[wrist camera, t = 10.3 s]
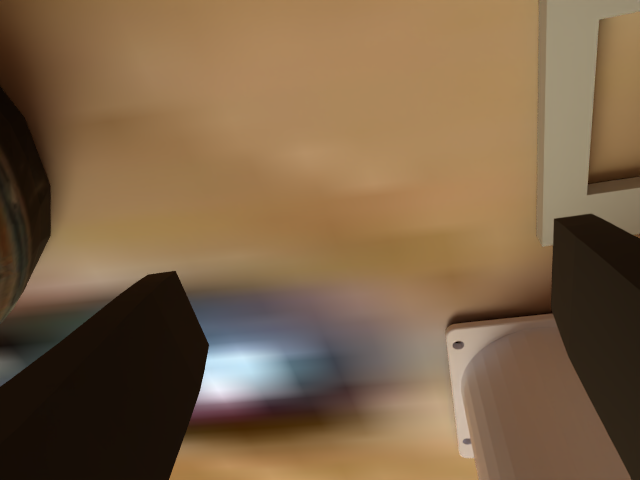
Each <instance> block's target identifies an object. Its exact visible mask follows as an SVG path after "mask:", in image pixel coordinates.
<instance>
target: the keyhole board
mask: <svg viewBox="0 0 640 480" xmlns="http://www.w3.org/2000/svg"><path fill="white" fill-rule="evenodd" d="M635 12H640V0H539V53H538V139H537V226H536V236H537V238H538V240H539V241H540V243H541V245H542V247H543V246H551V245H553V231H554V219H555V218H562V217H569V216H577V215H584V214H594V215H596V216H598V217H600V218H602V219H604V220H606V221H608V222H610V223H612V224H614V225H615V226H617V227H619V228H621V229H623V230H625V231H627V232H628V233H630V234H632V235H636V234H640V177H633V178H627V179H620V180H613V181H606V182H600V183H593V184H588V172H589V157H590V143H591V129H592V115H593V100H594V86H595V72H596V58H597V43H598V29H599V20H600V19H605V18H610V17H615V16H620V15H625V14H630V13H635Z"/></svg>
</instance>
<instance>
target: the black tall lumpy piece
mask: <svg viewBox="0 0 640 480" xmlns="http://www.w3.org/2000/svg"><path fill="white" fill-rule="evenodd" d="M49 238H50V184H49V181H48V179H47V176H46V173H45V171H44V168H43V165H42V163H41V160H40V157H39V155H38V152H37V149H36V147H35V144H34V142H33V139H32V136H31V134H30V131H29V128H28V126H27V123H26V120H25V118H24V116H23V115H22V114H21V113H20V111H19V110H18V109H17V107H16V106H15V105H14V104H13V102H12V101H11V100H10V98H9V97H8V96H7V95H6V93H5V92H4V91H3V89H2V88H1V87H0V324H1V323H2V322H3V321H4V319H5V318H6V317H7V316H8V314H9V313H10V312H11V311H12V309H13V308H14V307H15V305H16V303H17V301H18V299H19V298H20V296H21V294H22V293H23V291H24V289H25V287H26V285H27V283H28V281H29V279H30V277H31V274H32V272H33V270H34V268H35V266H36V264H37V262H38V260H39V258H40V256H41V254H42V252H43V250H44V248H45V246H46V244H47V242H48V240H49Z"/></svg>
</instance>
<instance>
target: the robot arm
mask: <svg viewBox="0 0 640 480" xmlns="http://www.w3.org/2000/svg"><path fill="white" fill-rule="evenodd" d="M551 310H552V314H543V315H533V316H524V317H514V318H505V319H496V320H486V321H477V322H467V323H458V324H452V325H450V326H449V327H447V329H446V331H445V336H446V344H447V353H448V362H449V371H450V379H451V388H452V397H453V406H454V415H455V423H456V432H457V441H458V449H459V454H460V455H461V456H462V457H465V458H474V459H475V463H476V468H477V473H478V478H479V480H640V239H639V238H638V237H636V236H634V235H632V234H630V233H628V232H627V231H625V230H623V229H621V228H619V227H617V226H615V225H614V224H612V223H610V222H608V221H606V220H604V219H602V218H600V217H598V216H596V215H594V214H584V215H577V216H569V217H562V218H555V219H554V231H553V262H552V293H551ZM456 341H461V342H460V343H454V342H456ZM208 348H209V344H208V342H207V339H206V337H205V335H204V333H203V331H202V328H201V326H200V324H199V322H198V320H197V317H196V315H195V313H194V311H193V308H192V306H191V304H190V302H189V300H188V297H187V295H186V293H185V291H184V288H183V286H182V284H181V282H180V280H179V277H178V275H177V273H176V271H171V272H164V273H157V274H149V275H147V276H145V277H144V278H142V279H141V280H139V281H138V282H136V283H135V284H133V285H132V286H131V287H129V288H128V289H127V290H125V291H124V292H123V293H121V294H120V295H119V296H117V297H116V298H115V299H114V300H112V301H111V302H110V303H108V304H107V305H106V306H105V307H103V308H102V309H101V310H100V311H98V312H97V313H96V314H95V315H93V316H92V317H91V318H90V319H88V320H87V321H86V322H85V323H83V324H82V325H81V326H80V327H78V328H77V329H76V330H75V331H73V332H72V333H71V334H70V335H68V336H67V337H66V338H65V339H63V340H62V341H61V342H60V343H58V344H57V345H56V346H54V347H53V348H52V349H50V350H49V351H48V352H46V353H45V354H44V355H42V356H41V357H40V358H38V359H37V360H36V361H34V362H33V363H32V364H30V365H29V366H28V367H26V368H25V369H24V370H22V371H21V372H20V373H18V374H17V375H16V376H14V377H13V378H12V379H10V380H9V381H8V382H6V383H5V384H3V385H2V386H1V387H0V480H169V478H170V475H171V472H172V469H173V466H174V464H175V461H176V458H177V455H178V452H179V450H180V447H181V444H182V441H183V438H184V436H185V433H186V430H187V427H188V424H189V421H190V418H191V415H192V413H193V410H194V407H195V404H196V401H197V398H198V395H199V392H200V388H201V383H202V379H203V374H204V370H205V364H206V359H207V353H208Z"/></svg>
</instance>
